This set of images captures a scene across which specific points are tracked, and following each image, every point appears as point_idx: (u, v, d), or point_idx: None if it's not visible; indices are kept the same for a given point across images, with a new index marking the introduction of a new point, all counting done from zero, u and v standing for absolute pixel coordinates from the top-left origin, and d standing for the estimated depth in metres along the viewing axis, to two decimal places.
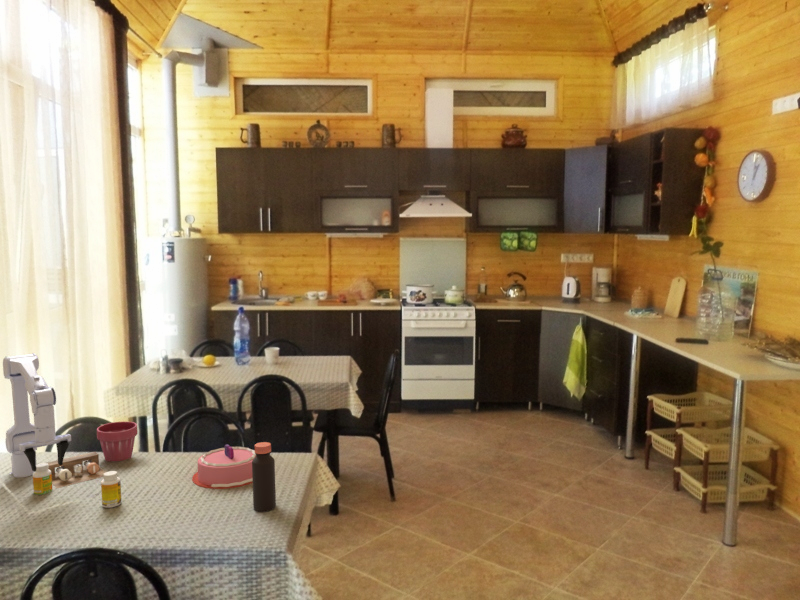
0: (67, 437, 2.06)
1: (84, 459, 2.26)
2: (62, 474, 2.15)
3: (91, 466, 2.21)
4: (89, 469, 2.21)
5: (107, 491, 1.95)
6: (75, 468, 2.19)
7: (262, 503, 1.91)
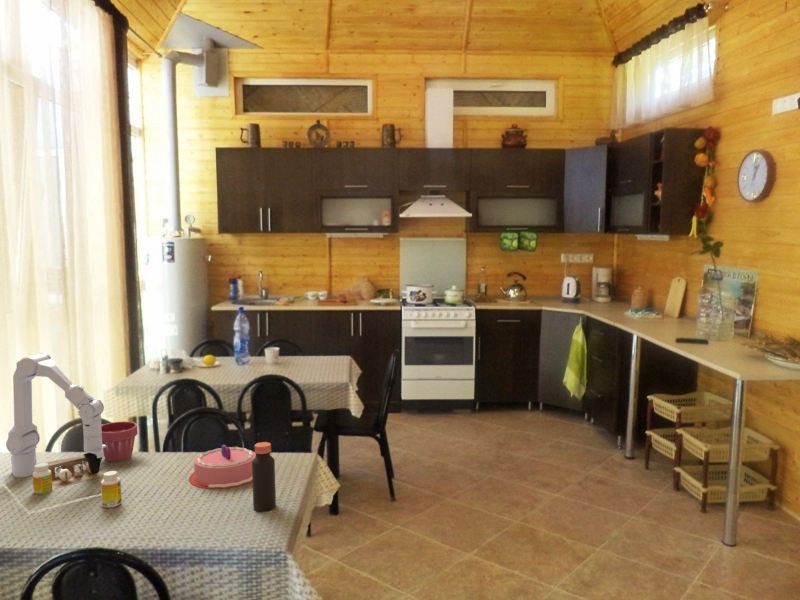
0: None
1: (84, 459, 2.26)
2: (62, 474, 2.15)
3: None
4: (88, 468, 2.21)
5: (107, 491, 1.95)
6: (75, 468, 2.19)
7: (262, 503, 1.91)
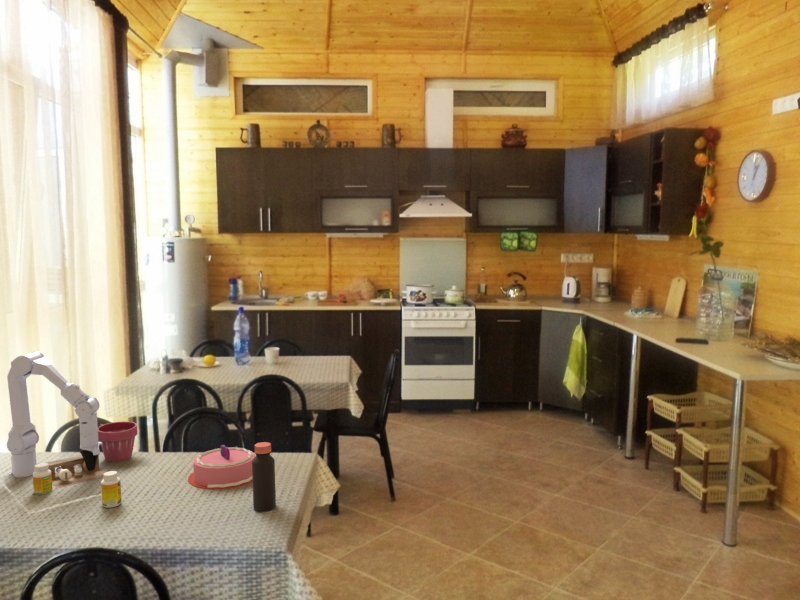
0: None
1: None
2: (62, 474, 2.15)
3: None
4: (84, 465, 2.24)
5: (107, 491, 1.95)
6: (75, 468, 2.19)
7: (262, 503, 1.91)
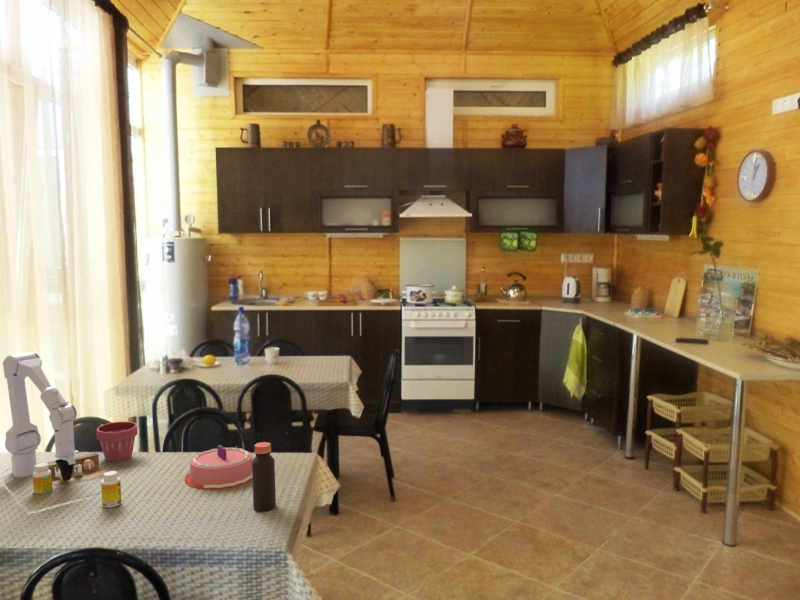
0: None
1: (84, 459, 2.26)
2: None
3: (86, 463, 2.25)
4: (84, 465, 2.24)
5: (107, 491, 1.95)
6: (75, 468, 2.19)
7: (262, 503, 1.91)
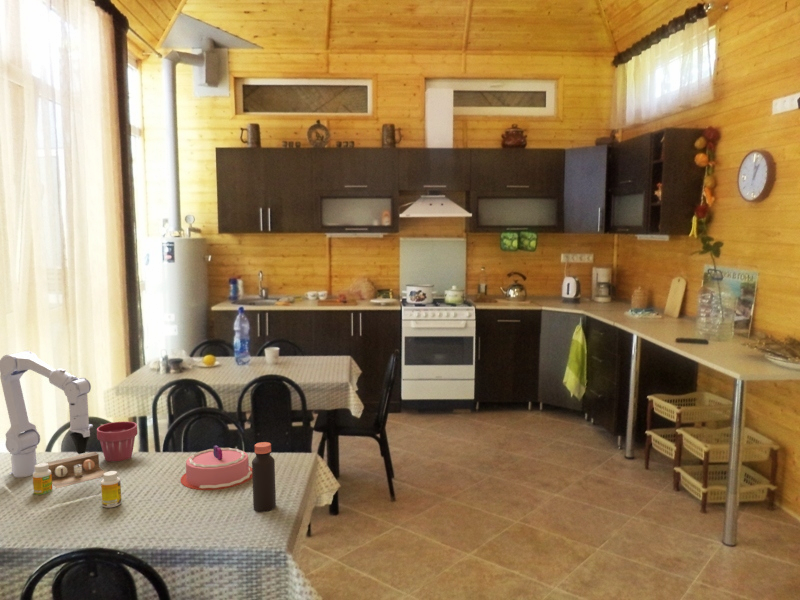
0: None
1: (84, 459, 2.26)
2: (58, 470, 2.18)
3: (86, 463, 2.25)
4: (84, 465, 2.24)
5: (107, 491, 1.95)
6: (75, 468, 2.19)
7: (262, 503, 1.91)
